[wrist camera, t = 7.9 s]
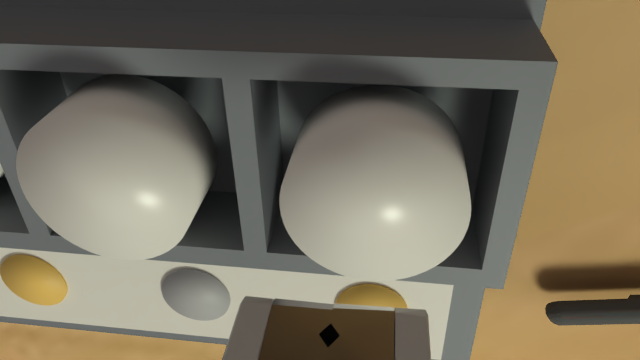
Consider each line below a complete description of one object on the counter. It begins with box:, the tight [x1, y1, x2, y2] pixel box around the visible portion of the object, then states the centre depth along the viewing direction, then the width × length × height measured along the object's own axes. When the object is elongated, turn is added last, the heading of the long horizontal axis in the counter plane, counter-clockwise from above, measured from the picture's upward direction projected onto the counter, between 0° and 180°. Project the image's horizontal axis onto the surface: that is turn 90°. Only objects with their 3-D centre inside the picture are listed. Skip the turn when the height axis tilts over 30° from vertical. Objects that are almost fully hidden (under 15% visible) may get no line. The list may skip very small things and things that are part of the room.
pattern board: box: [0, 0, 558, 360], centre depth 17 cm, size 19×14×6 cm
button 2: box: [279, 84, 471, 281], centre depth 12 cm, size 4×4×2 cm
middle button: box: [16, 74, 217, 260], centre depth 13 cm, size 4×4×2 cm
